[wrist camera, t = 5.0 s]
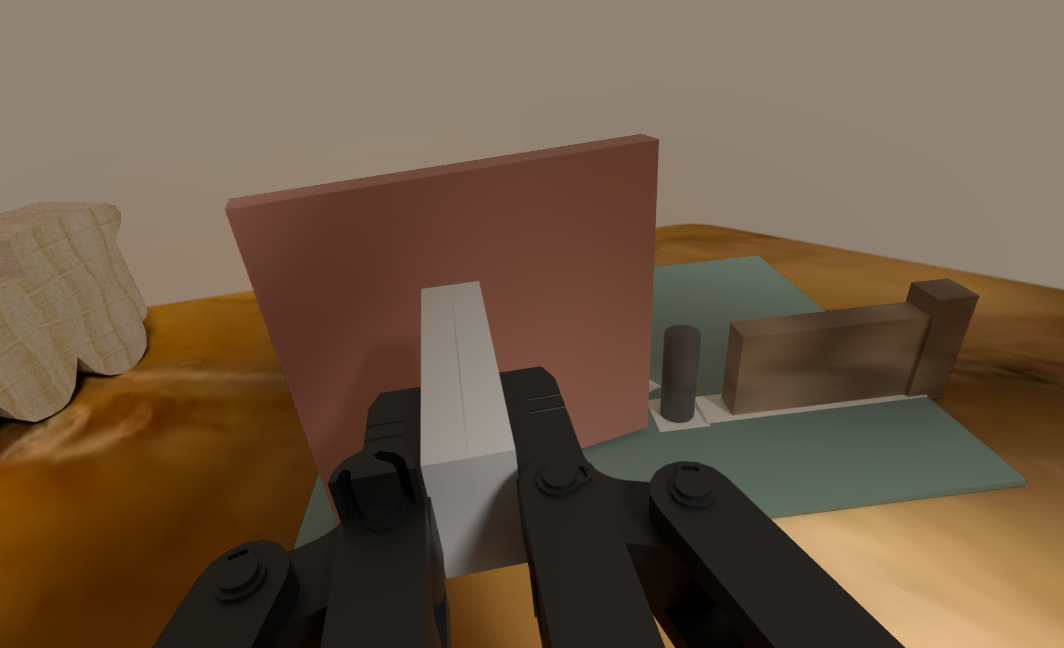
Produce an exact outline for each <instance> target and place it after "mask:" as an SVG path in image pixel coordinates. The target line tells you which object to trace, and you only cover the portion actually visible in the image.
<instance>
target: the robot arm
mask: <svg viewBox="0 0 1064 648" xmlns="http://www.w3.org/2000/svg"><path fill="white" fill-rule="evenodd" d="M327 484H328V487H329V490H330V493H331V495H332V498H333V501H334V504H335V507H336V510H337V513H338V515H339V518H340V521H341V523H340V524H339V525H338V526H336V527H335V528H334V529H333V530H331V531H330V532H329V533H327V534H325V535H323V536H322V537H320V538H318V539H316V540H314V541H312V542H310V543H307V544H305V545H303V546H301V547H298V548H296V549H294V550H292V551H289V552H287V551H286V550H285V549H284V548H283V547H282V546H280V545H279V544H278V543H275V542H270V541H265V540H262V541H256V542H249V543H245V544H243V545H240V546H238V547H236V548H233V549H231V550H229V551H227V552H226V553H224V554H223V555H221V556H220V557H219V558H217V559H216V560H215V561H213V562H212V563H211V564H210V565H209V566H208V567H207V568H206V569H205V571H204V572H203V573H202V574H201V575H200V576H199V577H198V579H197V580H196V582H195V583H194V585H193V586H192V588H191V589H190V591H189V592H188V594H187V595H186V597H185V599H184V600H183V602H182V603H181V605H180V606H179V608H178V609H177V611H176V612H175V614H174V615H173V617H172V618H171V620H170V621H169V623H168V624H167V626H166V627H165V629H164V630H163V632H162V633H161V635H160V637H159V638H158V640H157V641H156V643H155V644H154V646H153V647H152V648H451V630H450V609H449V604H448V600H447V595H446V591H445V575H444V569H445V574H446V578H452V577H457V576H462V575H467V574H472V573H477V572H482V571H487V570H492V569H497V568H502V567H507V566H512V565H517V564H522V563H527V562H528V566H529V571H530V579H531V588H532V597H533V605H534V614H535V617H537V621H538V626H539V632H540V637H541V642H542V648H665V646H664V643H663V641H662V638H661V635H660V633H659V630H658V628H657V625H656V622H655V620H654V617H655V618H656V620H657V621H658V623H659V624H660V626H661V627H662V629H663V630H664V632H665V633H666V635H667V636H668V638H669V639H670V641H671V642H672V644H673V645H674V647H675V648H905V647H904V646H903V645H902V644H901V643H900V642H899V641H898V640H897V639H896V638H895V637H894V636H892V635H891V634H890V633H889V632H888V631H887V630H886V629H885V628H884V627H883V626H882V625H881V624H880V623H879V622H878V621H877V620H876V619H875V618H874V617H873V616H872V615H870V614H869V613H868V612H867V611H866V610H865V609H864V608H863V607H862V606H861V605H860V604H859V603H858V602H857V601H856V600H855V599H854V598H853V597H852V596H851V595H850V594H849V593H847V592H846V591H845V590H844V589H843V588H842V587H841V586H840V585H839V584H838V583H837V582H836V581H835V580H834V579H833V578H832V577H831V576H830V575H829V574H828V573H827V572H826V571H824V570H823V569H822V568H821V567H820V566H819V565H818V564H817V563H816V562H815V561H814V560H813V559H812V558H811V557H810V556H809V555H808V554H807V553H806V552H805V551H804V550H802V549H801V548H800V547H799V546H798V545H797V544H796V543H795V542H794V541H793V540H792V539H791V538H790V537H789V536H788V535H787V534H786V533H785V532H784V531H783V530H782V529H781V528H779V527H778V526H777V525H776V524H775V523H774V522H773V521H772V520H771V519H770V518H769V517H768V516H767V515H766V514H765V513H764V512H763V511H762V510H761V509H760V508H759V507H758V506H756V505H755V504H754V503H753V502H752V501H751V500H750V499H749V498H748V497H747V496H746V495H745V494H744V493H743V492H742V491H741V490H740V489H739V488H738V487H737V486H736V485H734V484H733V483H732V482H731V481H730V480H729V479H728V478H727V477H726V476H725V475H723V474H722V473H720V472H719V471H717V470H716V469H715V468H713V467H710V466H707V465H705V464H702V463H699V462H689V461H679V462H674V463H670V464H666V465H665V466H663V467H662V468H660V469H659V470H657V471H656V472H655V474H654V475H653V477H652V479H651V480H650V482H644V481H631V480H623V479H617V478H613V477H610V476H608V475H605V474H603V473H601V472H599V471H598V470H596V469H595V468H594V466H593V465H592V464H591V463H590V462H588V461H587V460H586V458H585V456H584V454H583V452H582V449H581V447H580V444H579V441H578V439H577V436H576V433H575V430H574V428H573V425H572V422H571V420H570V417H569V414H568V412H567V409H566V408H565V403H564V401H563V398H562V396H561V393H560V390H559V387H558V384H557V382H556V379H555V377H554V376H552V375H551V374H550V373H549V372H548V371H546V370H545V369H544V368H543V367H542V366H538V367H531V368H525V369H519V370H512V371H506V372H500V373H499V371H498V367H497V362H496V357H495V353H494V348H493V343H492V339H491V334H490V329H489V325H488V320H487V316H486V311H485V306H484V302H483V297H482V292H481V288H480V283H479V281H475V282H468V283H461V284H453V285H446V286H439V287H432V288H424V289H421V387H415V388H409V389H402V390H396V391H390V392H383V393H380V394H379V395H378V397H377V398H376V399H375V401H374V402H373V404H372V405H371V406H370V408H369V409H368V415H367V422H366V430H365V437H364V444H363V450H362V451H359V452H357V453H355V454H354V455H352V456H350V457H348V458H347V459H345V460H344V461H343V462H342V463H341V464H340V465H339V466H338V467H337V468H336V469H335V470H334V471H333V472H332V474H331V477H330V479H329V481H328V483H327ZM653 615H654V617H653Z"/></svg>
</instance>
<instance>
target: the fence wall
mask: <svg viewBox="0 0 1064 648" xmlns="http://www.w3.org/2000/svg"><path fill="white" fill-rule="evenodd" d="M978 298H979V295H977V294H976V293H974V292H972V291H970V290H968V289H967V288H965V287H963V286H961V285H959V284H957V283H956V282H954V281H952V280H950V279H940V280H931V281H922V282H913V283H911V286H910V289H909V292H908V296H907V299H906V302H903V303H895V304H886V305H877V306H868V307H859V308H850V309H841V310H833V311H824V312H815V313H806V314H797V315H788V316H780V317H771V318H762V319H753V320H744V321H735V322H730V330H729V338H728V346H727V355H726V363H725V371H724V380H723V388H722V396H721V398H722V400H723V401H724V403H725V404H726V406H727V407H728V409H729V410H730V412H731V413H732V415H740V414H748V413H757V412H765V411H773V410H781V409H790V408H798V407H806V406H814V405H822V404H831V403H839V402H847V401H855V400H864V399H872V398H880V397H888V396H896V395H905V394H906V395H907V396H908V397H911V396H920V395H927V397H928V398H930V399H939V398H942V396H943V394H944V391H945V388H946V385H947V383H948V380H949V377H950V375H951V372H952V369H953V366H954V364H955V361H956V358H957V355H958V353H959V350H960V347H961V344H962V342H963V339H964V336H965V334H966V331H967V328H968V325H969V323H970V320H971V317H972V314H973V312H974V309H975V306H976V303H977V301H978ZM700 343H701V333H700V331H699V330H698V329H696V328H694V327H691V326H687V325H674V326H671V327H668V328H667V329H666V330H665V332H664V347H663V366H662V385H661V404H660V414H661V416H662V417H663V418H664V419H666V420H668V421H670V422H673V423H685V422H688V421H690V420H691V419H692V418H693V416H694V409H695V398H696V387H697V376H698V365H699V354H700Z"/></svg>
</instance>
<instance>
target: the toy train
mask: <svg viewBox="0 0 1064 648" xmlns="http://www.w3.org/2000/svg"><path fill="white" fill-rule="evenodd" d="M120 223H121V213H120V211H119V210H118V209H117V208H116V206H114V205H111V204H108V203H68V202H66V203H65V202H38V203H35V204H31V205H28V206H24V207H21V208H18V209H14V210H11V211H7V212H4V213H1V214H0V417H5V418H12V419H19V420H26V421H32V422H37V421H39V420H42V419H44V418H47V417H49V416H51V415H53V414H54V413H56V412H58V411H60V410H61V409H63V408H64V406H65V405H66V404H67V403H68V402H69V401H70V398H71V396H72V393H73V391H74V388H75V385H76V372H85V373H94V374H102V375H116V374H123V373H125V372H126V371H128V370H129V369H131V368H132V367H134V366H135V365H136V364H137V363H138V362H139V360H140V359H141V358H142V356H143V354H144V351H145V349H146V347H147V341H146V330H145V328H144V325H143V322H142V321H143V320H144V319H145V318H146V317H147V311H148V310H147V307H146V305H145V303H144V301H143V299H142V297H141V295H140V293H139V290H138V288H137V286H136V284H135V282H134V280H133V278H132V276H131V274H130V271H129V269H128V267H127V265H126V263H125V261H124V259H123V257H122V254H121V252H120V250H119V248H118V246H117V244H116V242H115V239H116V235H117V232H118V229H119V226H120Z"/></svg>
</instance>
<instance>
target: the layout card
mask: <svg viewBox="0 0 1064 648" xmlns="http://www.w3.org/2000/svg"><path fill="white" fill-rule="evenodd" d="M815 312H824V310H823V309H822V308H821V307H819V306H818V305H817V304H816V303H815V302H813V301H812V300H811V299H810V298H809V297H807V296H806V295H805V294H804V293H803V292H801V291H800V290H799V289H798V288H797V287H795V286H794V285H793V284H792V283H791V282H789V281H788V280H787V279H786V278H785V277H783V276H782V275H781V274H780V273H779V272H777V271H776V270H775V269H774V268H773V267H771V266H770V265H769V264H768V263H767V262H765V261H764V260H763V259H762V258H761V257H759V256H750V257H741V258H732V259H722V260H713V261H704V262H694V263H685V264H676V265H666V266H657V267H654V276H653V301H652V326H651V351H650V377H649V402H648V427H647V428H644V429H641V430H637V431H634V432H631V433H628V434H625V435H622V436H619V437H616V438H613V439H610V440H606V441H603V442H600V443H597V444H594V445H591V446H588V447H585V448H582V452H583V454H584V456H585V458H586V460H587V461H588V462H590V463H591V464H592V465H593V466H594V468H595V469H596V470H598V471H599V472H601V473H603V474H605V475H608V476H610V477H613V478H617V479H623V480H631V481H644V482H650V480H651V479H652V477H653V475H654V474H655V472H656V471H657V470H659V469H660V468H662V467H663V466H665V465H666V464H670V463H674V462H679V461H689V462H699V463H702V464H705V465H707V466H710V467H713V468H715V469H716V470H717V471H719V472H720V473H722V474H723V475H725V476H726V477H727V478H728V479H729V480H730V481H731V482H732V483H733V484H734V485H736V486H737V487H738V488H739V489H740V490H741V491H742V492H743V493H744V494H745V495H746V496H747V497H748V498H749V499H750V500H751V501H752V502H753V503H754V504H755V505H756V506H758V507H759V508H760V509H761V510H762V511H763V512H764V513H765V514H766V515H767V516H768V517H769V518H770V519H773V518H780V517H788V516H795V515H803V514H811V513H818V512H826V511H834V510H841V509H849V508H856V507H864V506H872V505H879V504H887V503H894V502H902V501H910V500H917V499H925V498H932V497H940V496H948V495H955V494H963V493H971V492H978V491H986V490H993V489H1001V488H1009V487H1016V486H1024V485H1025V483H1026V481H1027V479H1026V478H1024V477H1023V476H1022V475H1021V474H1020V473H1018V472H1017V471H1016V470H1015V469H1014V468H1012V467H1011V466H1010V465H1009V464H1008V463H1006V462H1005V461H1004V460H1003V459H1002V458H1000V457H999V456H998V455H997V454H996V453H994V452H993V451H992V450H991V449H990V448H988V447H987V446H986V445H985V444H984V443H982V442H981V441H980V440H979V439H978V438H976V437H975V436H974V435H973V434H972V433H970V432H969V431H968V430H967V429H966V428H964V427H963V426H962V425H961V424H960V423H958V422H957V421H956V420H955V419H954V418H952V417H951V416H950V415H949V414H948V413H946V412H945V411H944V410H943V409H942V408H940V407H939V406H938V405H937V404H936V403H934V402H933V401H932V400H931V399H930V398H928V397H927V395H920V396H911V397H908V396H907V395H906V394H905V395H896V396H888V397H880V398H872V399H864V400H855V401H847V402H839V403H831V404H822V405H814V406H806V407H798V408H790V409H781V410H773V411H765V412H757V413H748V414H740V415H732V413H731V412H730V410H729V409H728V407H727V406H726V404H725V403H724V401H723V400H722V398H721V396H722V388H723V380H724V371H725V363H726V355H727V346H728V338H729V330H730V322H735V321H744V320H753V319H762V318H771V317H780V316H788V315H797V314H806V313H815ZM674 325H687V326H691V327H694V328H696V329H698V330H699V331H700V333H701V343H700V354H699V365H698V376H697V387H696V398H695V409H694V416H693V418H692V419H691V420H690V421H688V422H685V423H673V422H670V421H668V420H666V419H664V418H663V417H662V416H661V414H660V404H661V385H662V366H663V347H664V332H665V330H666V329H667V328H668V327H671V326H674ZM336 526H338V525H337V522H336V519H335V516H334V514H333V511H332V508H331V505H330V502H329V500H328V497H327V494H326V491H325V488H324V486H323V483H322V480H321V477H320V474H319V473H318V476H317V479H316V482H315V485H314V488H313V491H312V494H311V497H310V500H309V503H308V506H307V509H306V512H305V515H304V518H303V521H302V524H301V527H300V530H299V533H298V536H297V539H296V542H295V545H294V548H293V550H294V549H296V548H298V547H301V546H303V545H305V544H307V543H310V542H312V541H314V540H316V539H318V538H320V537H322V536H323V535H325V534H327V533H329V532H330V531H331V530H333V529H334V528H335V527H336Z"/></svg>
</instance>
